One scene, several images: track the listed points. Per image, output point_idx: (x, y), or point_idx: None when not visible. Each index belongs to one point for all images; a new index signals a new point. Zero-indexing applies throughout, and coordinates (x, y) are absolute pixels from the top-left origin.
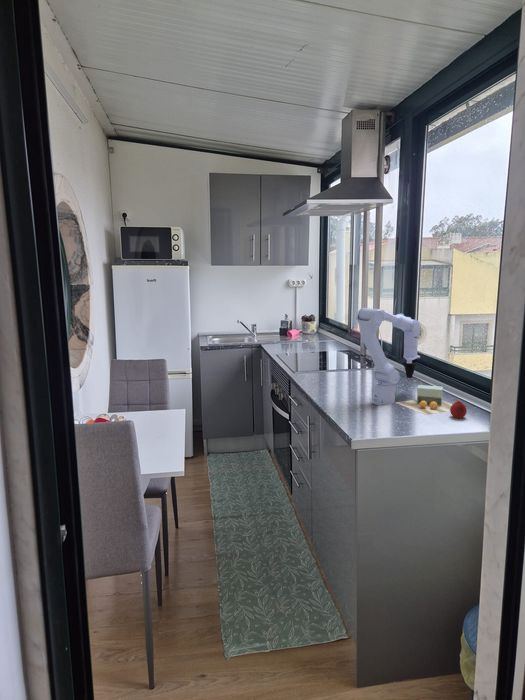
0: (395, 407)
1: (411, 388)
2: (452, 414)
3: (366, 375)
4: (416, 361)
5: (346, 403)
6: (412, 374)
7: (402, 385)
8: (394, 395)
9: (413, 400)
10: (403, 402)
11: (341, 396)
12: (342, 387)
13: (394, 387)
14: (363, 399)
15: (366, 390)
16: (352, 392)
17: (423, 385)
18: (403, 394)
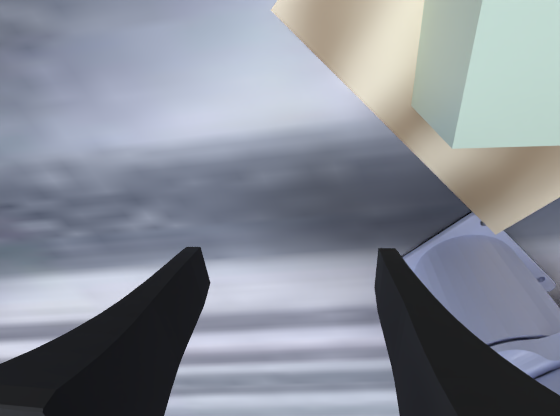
0: (551, 218)
1: (74, 177)
2: None
3: (10, 356)
4: (90, 365)
5: None
6: (415, 275)
7: (49, 225)
8: (505, 268)
9: (417, 134)
10: (485, 189)
11: (375, 406)
12: (239, 406)
13: (546, 317)
14: None
15: (241, 346)
16: (298, 382)
17: (473, 86)
18: (231, 204)
